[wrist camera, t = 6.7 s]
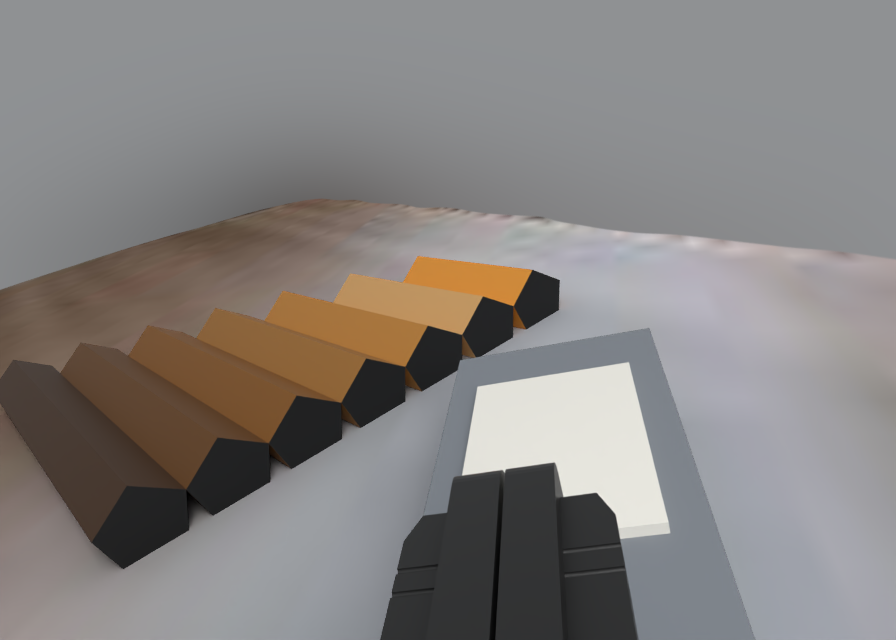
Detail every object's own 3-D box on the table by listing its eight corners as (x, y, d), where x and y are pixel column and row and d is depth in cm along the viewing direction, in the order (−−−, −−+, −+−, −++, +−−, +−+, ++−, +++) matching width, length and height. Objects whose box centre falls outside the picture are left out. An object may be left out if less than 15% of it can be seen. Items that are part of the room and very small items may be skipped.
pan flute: (7, 419, 45) (114, 588, 26) (-18, 372, 44) (76, 512, 25) (335, 274, 59) (566, 315, 40) (323, 235, 57) (555, 257, 38)
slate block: (786, 723, 11) (647, 320, 26) (359, 749, 13) (458, 353, 27) (805, 898, 13) (664, 423, 27) (421, 903, 14) (483, 449, 29)
